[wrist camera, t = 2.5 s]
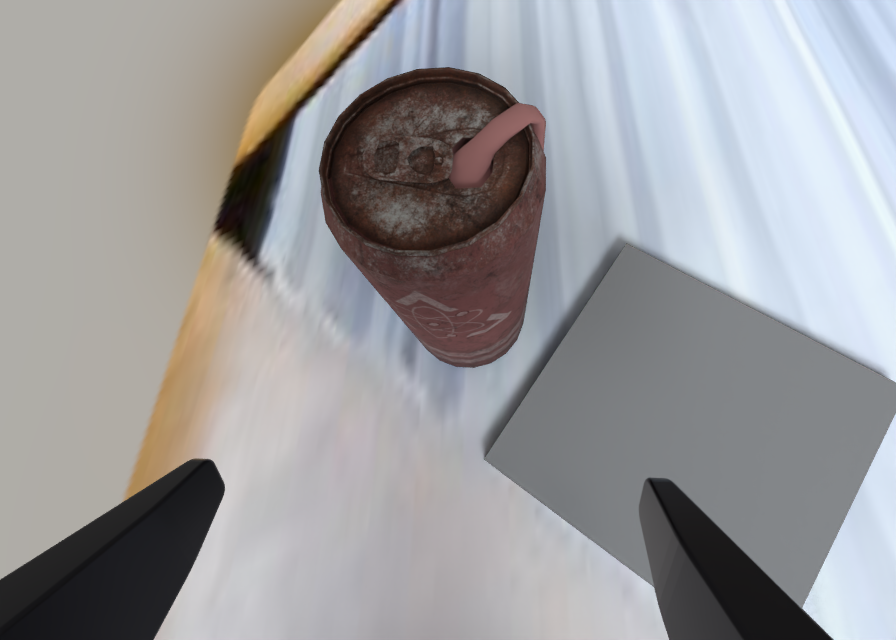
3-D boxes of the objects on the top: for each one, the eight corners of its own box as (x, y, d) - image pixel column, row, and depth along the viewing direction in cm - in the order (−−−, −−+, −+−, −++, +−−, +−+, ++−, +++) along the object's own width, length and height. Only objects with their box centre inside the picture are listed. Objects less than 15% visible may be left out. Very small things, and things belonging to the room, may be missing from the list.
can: (548, 329, 22) (615, 166, 9) (451, 390, 22) (371, 314, 9) (489, 247, 24) (473, 12, 11) (399, 302, 24) (269, 130, 11)
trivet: (758, 663, 17) (769, 674, 16) (484, 458, 21) (483, 459, 20) (891, 390, 19) (907, 388, 19) (622, 249, 23) (626, 243, 22)
